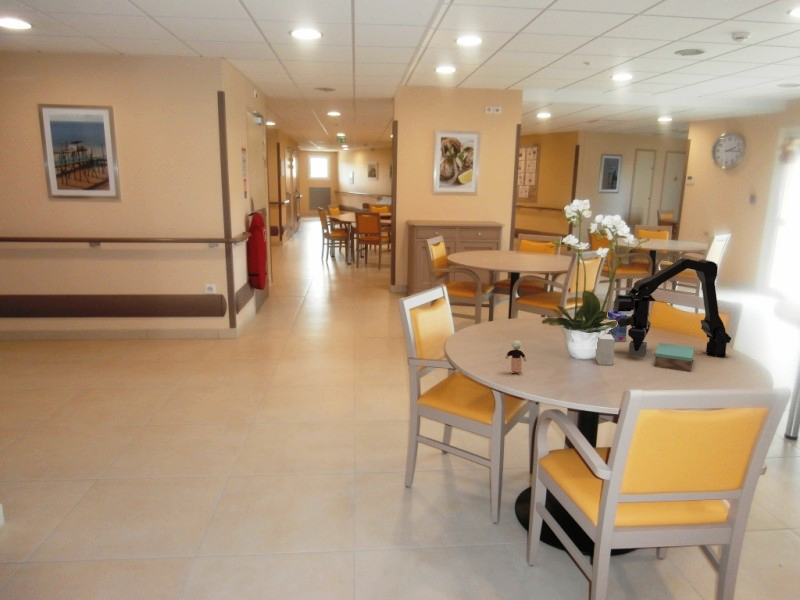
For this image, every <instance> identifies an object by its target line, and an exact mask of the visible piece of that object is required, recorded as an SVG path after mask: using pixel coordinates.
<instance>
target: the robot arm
mask: <svg viewBox="0 0 800 600" xmlns="http://www.w3.org/2000/svg"><path fill="white" fill-rule="evenodd" d="M718 267H719V266H718V264H717V263H715V262H714V261H712V260H707V259H704V258H703V259H702V258H701V259H699V260H695V259H690V258H688V257H681V258H679V259H678V260H676V261H675V262H673V263H672V264H670V265H668V266H667V267H665V268H663V269H662V270H660V271H658V272H657V273H655V274H653V275H651V276H646V277H644V278H641V279H638V280H636V281H635V282H634V283H633V287H632V288H631V290H630V291H628V293H627V294H624V295H623V294H616V297H615V299H614V301H613V308H614V310H615V311H620V312H632V311H633V312H632V314H631V315H627V317H623V318H619V319H618V320H617V321H618V325H619V327H623V326H627V327H628V326H630V328H629V329H627V336H628V337H630V338H631V339H632V341H633V343H634V349H635V351H638V350H639V348H640V346H641V344H642V342H645V339H646V337H647V335H648V333H649V331H650V329H651V323H652V322H650V321H649V317H650V303H651V302H656V299H655V298H654V297H653V295H652V294H654V292H656V290H658V288H659V287H660V286H661V285H662V284H664V283H665V282H667V281H669V280H670V279H672V278H674V277H676V276H677V275H679V274H681V273H682V272H684V271H685V270H692V271H695V273H696V275H697V278H698V280H699V281H700V283H701V285H700V286H701V291H702V299H703V300H702V301H703V307H704V314H705V316H704V318H703V319H700V325H701V327H700V329H701V330H702V331H703V333H705V335H706V338H708V341H707V342H706V348H705V353H706V356H711V357H718V358H726V355H727V354H726V351H727V346H728V345H727V344H730V342H731V340H732V337H731V336H730V335H729V334H728V333H727V331H726V326H725V325H724V321H723V320H722V318H721V316H720V313H719V307H718V304H719V303H718V298H717V290H716V289H717V288H716V279H717V278H718V277H717V276H718V272H719V271H718Z"/></svg>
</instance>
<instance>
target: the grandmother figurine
mask: <svg viewBox="0 0 800 600" xmlns="http://www.w3.org/2000/svg"><path fill="white" fill-rule="evenodd" d="M521 345H522V343H521V341H520V340H514V341H513V342H512V343H511V347H512V348H513V349H512V350H509V351H508V352H507V353H506V356H505V357H504V358H505V359H506V360H507V359H509V357H511V358H510V359H511V361H510V367H511V369H510V370H511V371H512V373H515V372H516V373H518V374H517V375H519V374H521V375H523V374H524V372H523V370H522V369H523V367H522V359H523V362H527V358H526V354H525V353H524V352H523V351H522V350H520V348H521ZM522 373H523V374H522Z"/></svg>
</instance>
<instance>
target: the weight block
mask: <svg viewBox="0 0 800 600" xmlns="http://www.w3.org/2000/svg"><path fill="white" fill-rule="evenodd" d="M647 344H648V343H647V341H643V342H642V344H641V346H640V348H639V350H638V351H635V349H634V343H633V339H632V340H630V342H629V344H628V346H629V347H628V355H629V356H633V357H634V356H636V357H643V358H645V357H646V355H647V347H648V345H647Z"/></svg>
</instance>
